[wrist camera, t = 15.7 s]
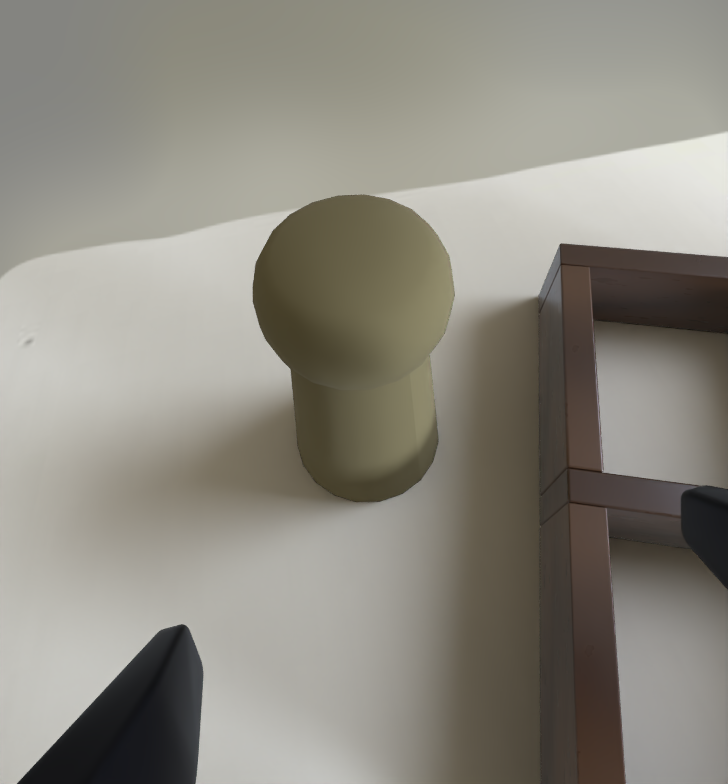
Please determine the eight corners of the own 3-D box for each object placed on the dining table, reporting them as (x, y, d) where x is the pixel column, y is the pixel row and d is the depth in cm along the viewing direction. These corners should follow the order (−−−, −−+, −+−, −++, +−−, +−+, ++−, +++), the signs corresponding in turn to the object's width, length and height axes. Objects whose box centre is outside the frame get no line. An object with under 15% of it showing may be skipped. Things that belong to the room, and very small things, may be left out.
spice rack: (989, 983, 13) (1178, 1086, 10) (540, 880, 14) (583, 943, 11) (790, 319, 23) (852, 266, 20) (538, 295, 24) (559, 242, 21)
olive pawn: (275, 407, 22) (185, 210, 12) (394, 351, 23) (398, 130, 13) (334, 529, 19) (279, 400, 9) (466, 459, 20) (536, 280, 11)
